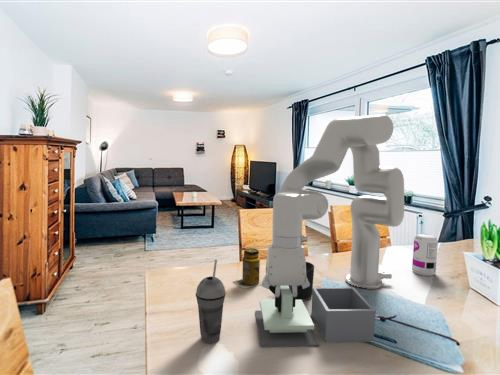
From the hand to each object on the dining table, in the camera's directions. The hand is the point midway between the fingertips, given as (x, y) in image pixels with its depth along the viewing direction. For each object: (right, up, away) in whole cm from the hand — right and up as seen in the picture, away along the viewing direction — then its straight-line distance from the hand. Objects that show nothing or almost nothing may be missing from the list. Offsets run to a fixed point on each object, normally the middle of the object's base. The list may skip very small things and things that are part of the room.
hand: (284, 308), depth 84 cm
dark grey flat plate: (0, -5, 0) cm, 5 cm away
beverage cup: (-19, -6, -5) cm, 20 cm away
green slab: (0, -3, 0) cm, 3 cm away
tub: (+15, -5, +1) cm, 16 cm away
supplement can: (+60, -2, +43) cm, 74 cm away
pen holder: (+7, -3, +21) cm, 22 cm away
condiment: (-10, -2, +30) cm, 31 cm away
